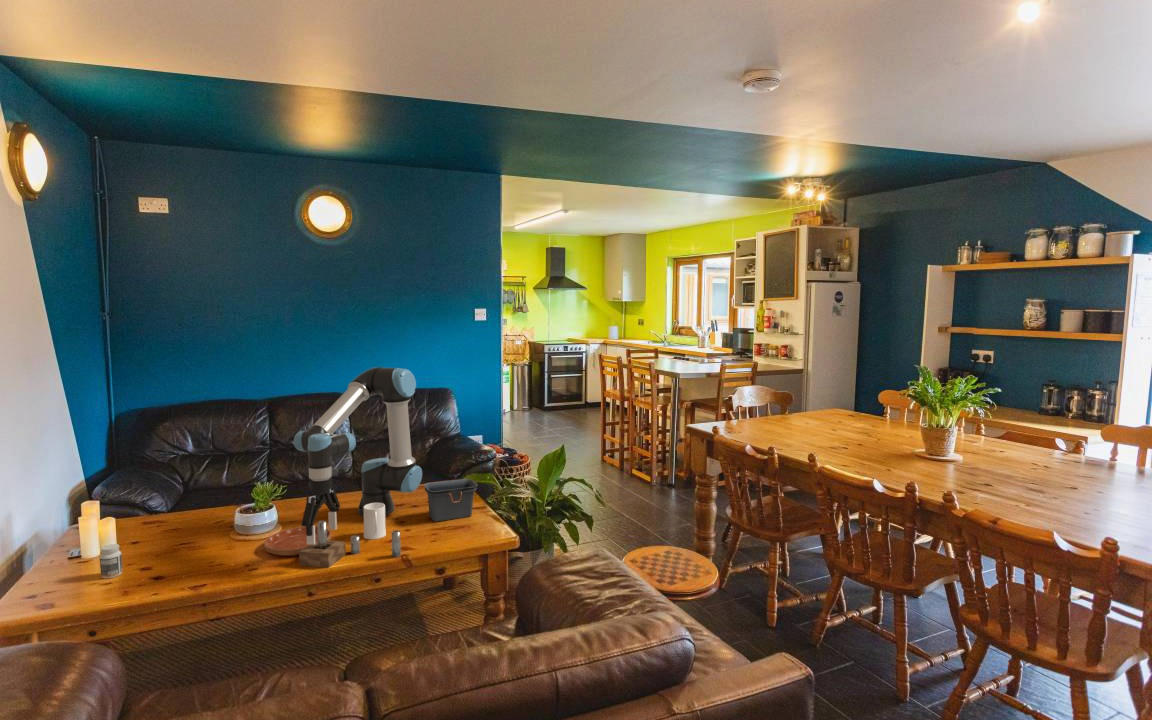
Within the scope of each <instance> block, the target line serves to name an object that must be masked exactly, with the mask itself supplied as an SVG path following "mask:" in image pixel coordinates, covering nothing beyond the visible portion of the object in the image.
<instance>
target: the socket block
mask: <svg viewBox="0 0 1152 720" xmlns="http://www.w3.org/2000/svg"><path fill="white" fill-rule="evenodd" d="M345 556H346V541H344V540H342V541H341V540H331V539H330V540H327V548H326V549H325V550H324V549H318V539H317V540H316V541H315V544H314V545H313V544H310V545H308V546H307V547H305V548H304V549H302V550H301V551H299V555H298V559H299V560H298V563H299V564H298V565H299V566H301V567H303V566H304V567H313V568H323V569H324V568H325V569H329V568H330V567H332V566H334V564H336V563H337V562H338V561H340V560H341V559H342V558H344V557H345Z"/></svg>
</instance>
